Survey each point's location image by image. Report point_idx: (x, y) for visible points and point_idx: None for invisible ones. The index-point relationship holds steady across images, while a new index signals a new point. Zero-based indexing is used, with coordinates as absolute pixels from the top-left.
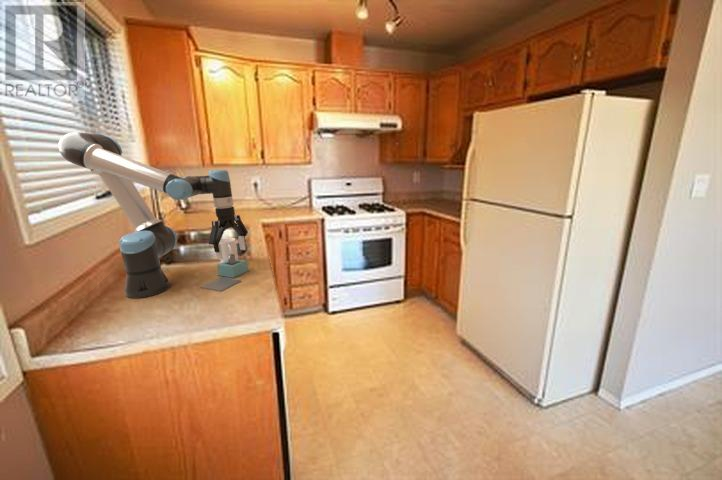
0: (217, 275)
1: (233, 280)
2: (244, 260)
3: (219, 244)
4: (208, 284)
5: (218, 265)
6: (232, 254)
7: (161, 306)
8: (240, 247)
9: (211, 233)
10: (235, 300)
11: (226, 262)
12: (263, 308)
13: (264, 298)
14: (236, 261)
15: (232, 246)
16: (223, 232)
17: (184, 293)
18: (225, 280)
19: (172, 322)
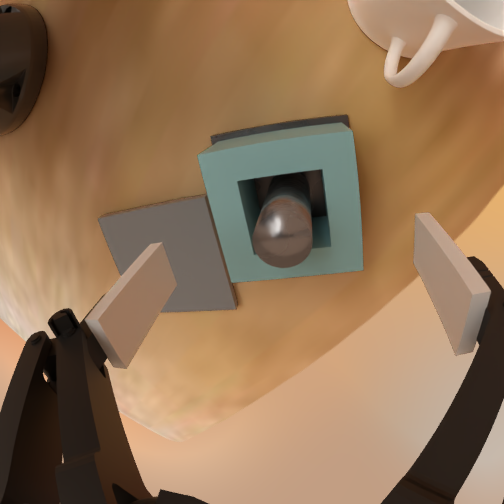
0: (214, 136)
1: (216, 281)
2: (359, 252)
3: (116, 364)
4: (125, 224)
5: (201, 168)
6: (298, 239)
7: (12, 234)
8: (421, 231)
9: (10, 417)
10: (152, 370)
11: (266, 172)
12: (180, 423)
13: (208, 411)
14: (327, 208)
15: (465, 40)
16: (135, 470)
17: (57, 203)
18: (193, 251)
19: (34, 323)
